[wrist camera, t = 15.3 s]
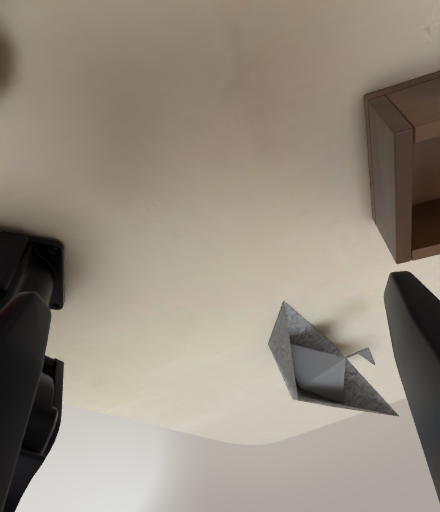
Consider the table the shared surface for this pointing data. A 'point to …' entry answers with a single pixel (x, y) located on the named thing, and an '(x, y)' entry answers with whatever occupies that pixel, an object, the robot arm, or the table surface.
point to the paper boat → (320, 367)
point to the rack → (406, 166)
